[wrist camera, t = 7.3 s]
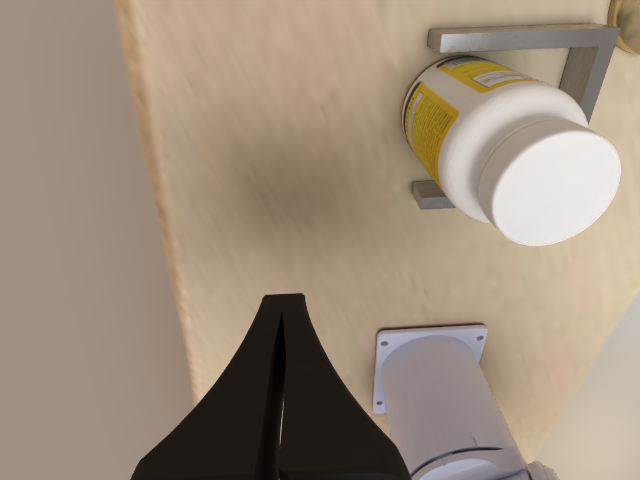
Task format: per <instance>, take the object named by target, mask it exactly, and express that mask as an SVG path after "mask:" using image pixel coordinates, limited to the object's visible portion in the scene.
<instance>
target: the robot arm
mask: <svg viewBox="0 0 640 480" xmlns="http://www.w3.org/2000/svg"><path fill="white" fill-rule="evenodd" d="M487 334H488V330H487V328H486V326H484V325H469V326H452V327H435V328H417V329H400V330H384V331H381V332H379V333H378V335H377V345H376V360H375V375H374V389H373V404H372V408H373V412H374V413H376V414H384V413H385V414H386V419H387V424H388V429H389V434H390V438H391V440H390V439H389V438H388V437H387V436H386V434H385V433H384V432H383V431H382V430H381V429H380V428H379V427H378V426H377V425H376V424H375V423H374V421H373V420H372V419H371V418H370V417H369V416H368V415H367V413H366V412H365V411H364V410H363V408H362V407H361V406H360V405H359V403H358V402H357V401H356V399H355V398H354V397H353V396H352V394H351V393H350V392H349V390H348V389H347V387H346V386H345V384H344V383H343V382H342V380H341V379H340V377H339V375H338V374H337V372H336V371H335V369H334V367H333V366H332V364H331V362H330V361H329V359H328V357H327V355H326V353H325V351H324V349H323V347H322V345H321V343H320V341H319V339H318V337H317V335H316V332H315V330H314V328H313V325H312V323H311V320H310V317H309V314H308V311H307V307H306V302H305V296H304V295H303V294H302V293H297V294H275V295H265V296H264V297H263V299H262V302H261V305H260V307H259V310H258V312H257V314H256V317H255V319H254V321H253V323H252V325H251V327H250V329H249V331H248V332H247V334H246V336H245V338H244V340H243V342H242V343H241V345H240V347H239V348H238V350H237V352H236V353H235V355H234V356H233V358H232V360H231V361H230V363H229V364H228V366H227V367H226V369H225V370H224V372H223V373H222V374H221V376H220V377H219V378H218V380H217V381H216V382H215V384H214V385H213V386H212V388H211V389H210V390H209V391H208V392H207V394H206V395H205V396H204V397H203V399H202V400H201V401H200V402H199V403H198V404H197V406H196V407H195V408H194V409H193V410H192V411H191V412H190V413H189V414H188V415H187V416H186V417H185V418H184V420H182V422H181V423H180V424H179V425H178V426H177V427H176V428H175V429H174V430H173V431H172V432H171V433H170V434H169V435H168V436H167V437H166V438H164V439H163V440H162V441H161V442H160V443H159V444H158V445H157V446H156V447H155V448H153V449H152V450H151V451H150V452H149V453H148V454H147V455H146V456H145V457H144V458H142V459H141V460H140V461H139V463H138V465H137V467H136V469H135V471H134V473H133V475H132V477H131V479H130V480H279V479H280V480H560V479H559V478H558V476H557V474H556V473H555V471H554V470H553V469H551V468H549V467H547V466H545V465H542V464H541V463H540V462H539V461H534V462H532V463H530V464H527V463H526V461H525V460H524V459H523V457H522V455H521V453H520V451H519V449H518V447H517V444H516V442H515V440H514V438H513V436H512V434H511V432H510V429H509V427H508V425H507V423H506V421H505V419H504V417H503V415H502V412H501V410H500V408H499V406H498V404H497V402H496V400H495V398H494V395H493V393H492V391H491V389H490V387H489V385H488V383H487V381H486V378H485V376H484V374H483V372H482V370H481V368H480V366H479V363H480V359H481V356H482V352H483V348H484V345H485V341H486V338H487ZM384 341H386V342H384ZM283 400H284V406H283ZM282 409H283V419H282ZM281 419H282V432H281V442H280V430H281Z"/></svg>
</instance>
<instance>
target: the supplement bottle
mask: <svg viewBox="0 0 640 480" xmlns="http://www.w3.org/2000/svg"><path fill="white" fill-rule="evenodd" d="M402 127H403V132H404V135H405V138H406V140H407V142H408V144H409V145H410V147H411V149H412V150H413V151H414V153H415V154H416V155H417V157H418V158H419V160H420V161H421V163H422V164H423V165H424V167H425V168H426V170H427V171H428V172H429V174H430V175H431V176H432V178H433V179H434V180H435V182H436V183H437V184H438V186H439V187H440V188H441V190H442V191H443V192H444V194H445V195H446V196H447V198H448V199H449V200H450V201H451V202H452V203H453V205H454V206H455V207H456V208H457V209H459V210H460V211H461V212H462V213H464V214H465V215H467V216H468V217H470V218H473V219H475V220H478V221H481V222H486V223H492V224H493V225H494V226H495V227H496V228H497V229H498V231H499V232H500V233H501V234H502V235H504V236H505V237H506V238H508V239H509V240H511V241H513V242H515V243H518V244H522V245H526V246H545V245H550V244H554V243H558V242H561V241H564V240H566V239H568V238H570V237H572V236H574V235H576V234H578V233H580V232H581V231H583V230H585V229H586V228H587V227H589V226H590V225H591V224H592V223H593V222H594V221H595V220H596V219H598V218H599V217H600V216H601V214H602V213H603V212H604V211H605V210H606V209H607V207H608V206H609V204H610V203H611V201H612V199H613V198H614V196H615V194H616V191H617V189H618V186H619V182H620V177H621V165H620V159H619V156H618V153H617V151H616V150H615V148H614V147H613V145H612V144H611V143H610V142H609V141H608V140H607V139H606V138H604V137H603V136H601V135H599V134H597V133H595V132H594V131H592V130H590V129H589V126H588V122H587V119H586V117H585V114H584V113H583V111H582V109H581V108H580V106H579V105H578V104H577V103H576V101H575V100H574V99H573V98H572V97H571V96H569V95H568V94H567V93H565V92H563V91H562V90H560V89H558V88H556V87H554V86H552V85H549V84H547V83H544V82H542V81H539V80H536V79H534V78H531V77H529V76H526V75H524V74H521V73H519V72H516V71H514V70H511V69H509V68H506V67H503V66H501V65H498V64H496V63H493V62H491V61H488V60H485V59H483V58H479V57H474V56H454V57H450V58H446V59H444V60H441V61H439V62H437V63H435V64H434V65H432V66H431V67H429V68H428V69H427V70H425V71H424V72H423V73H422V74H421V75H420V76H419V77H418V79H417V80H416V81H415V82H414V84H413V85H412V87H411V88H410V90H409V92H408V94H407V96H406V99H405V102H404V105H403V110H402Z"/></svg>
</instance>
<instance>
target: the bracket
mask: <svg viewBox="0 0 640 480" xmlns="http://www.w3.org/2000/svg"><path fill="white" fill-rule="evenodd" d="M620 29H621V27H615V26H608V25H602V24H596V23H578V24H552V25H527V26H501V27H475V28H450V29H429V34H428V43H427V46H428V47H430V48H432V49H434V50H436V51H438V52H439V53H444V52H469V51H494V50H518V49H543V48H568V47H571V49H570V52H569V56H568V59H567V63H566V66H565V70H564V73H563V77H562V80H561V84H560V87H559V89H560V90H562V91H563V92H565V93H567V94H568V95H569V96H571V97H572V98H573V99H574V100H575V101H576V103H577V104H578V105H579V106H580V108H581V109H582V111H583V113H584V114H585V117H586V119H587V122H588V124H589V121H590V118H591V115H592V112H593V109H594V106H595V103H596V100H597V98H598V95H599V92H600V89H601V86H602V83H603V80H604V77H605V74H606V71H607V68H608V65H609V62H610V59H611V56H612V53H613V50H614V47H615V44H616V41H617V38H618V35H619V32H620ZM412 194H413V196H414V198H415V200H416V202H417V204H418V205H419V207H420V209H441V208H456V207H455V206H454V205H453V203H452V202H451V201H450V200H449V199H448V198H447V196H446V195H445V194H444V192H443V191H442V190H441V188H440V187H439V186H438V184H437V183H436V182H435V181H415V182H413V185H412Z"/></svg>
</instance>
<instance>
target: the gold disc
mask: <svg viewBox="0 0 640 480" xmlns="http://www.w3.org/2000/svg"><path fill="white" fill-rule="evenodd" d="M608 26H615V27H621V29H620V32H619V35H618V38H617V41H616V45H617V46H618V47H619V48H621V49H622V50H624V51H627V52H630V53H635V54H639V55H640V0H612V2H611V5H610V9H609V15H608Z"/></svg>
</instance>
